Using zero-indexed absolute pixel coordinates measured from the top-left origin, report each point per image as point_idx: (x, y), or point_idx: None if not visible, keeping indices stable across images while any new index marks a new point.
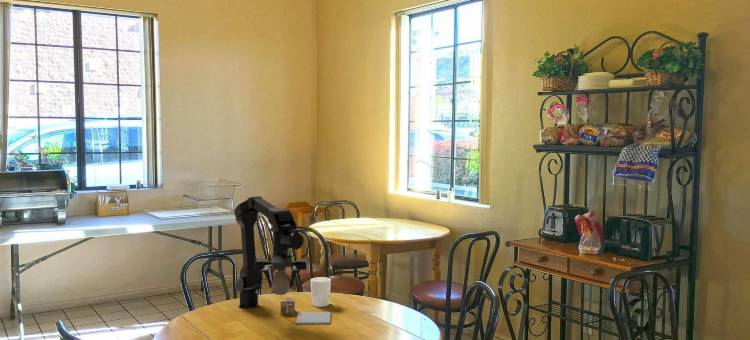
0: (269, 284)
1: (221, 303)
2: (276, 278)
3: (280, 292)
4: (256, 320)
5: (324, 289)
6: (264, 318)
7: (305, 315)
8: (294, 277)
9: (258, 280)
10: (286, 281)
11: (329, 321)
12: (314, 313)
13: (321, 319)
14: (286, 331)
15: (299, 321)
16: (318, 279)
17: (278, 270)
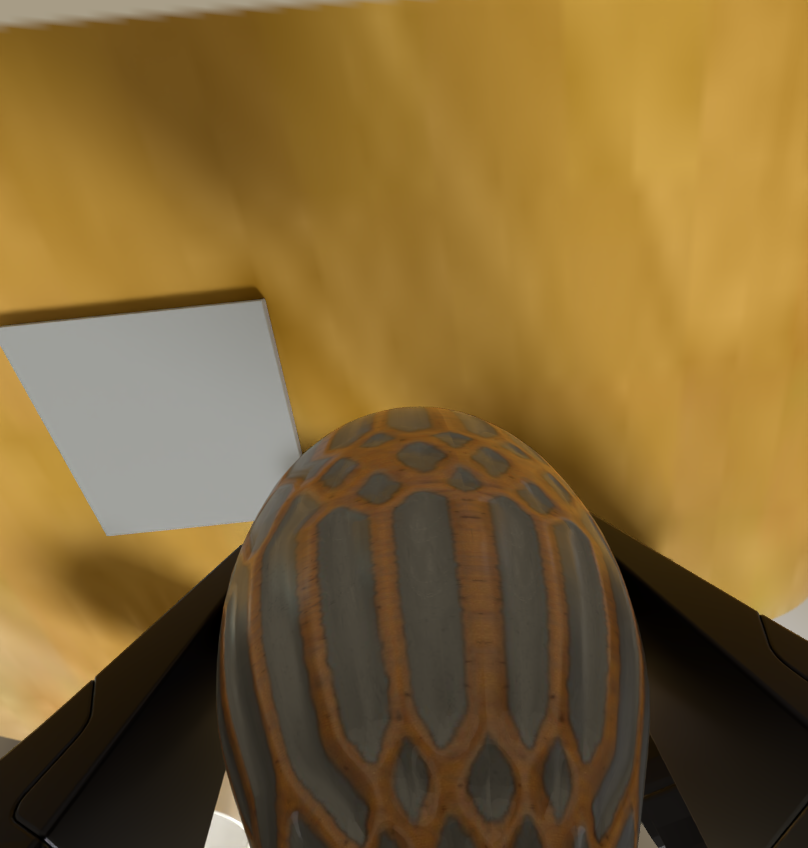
0: (633, 544)
1: (759, 613)
2: (553, 622)
3: (398, 408)
4: (570, 362)
5: None
6: (518, 407)
7: (244, 461)
8: (19, 747)
9: (668, 770)
10: (254, 576)
11: (6, 349)
12: (199, 503)
13: (93, 389)
14: (288, 81)
15: (243, 329)
16: (219, 844)
17: None
